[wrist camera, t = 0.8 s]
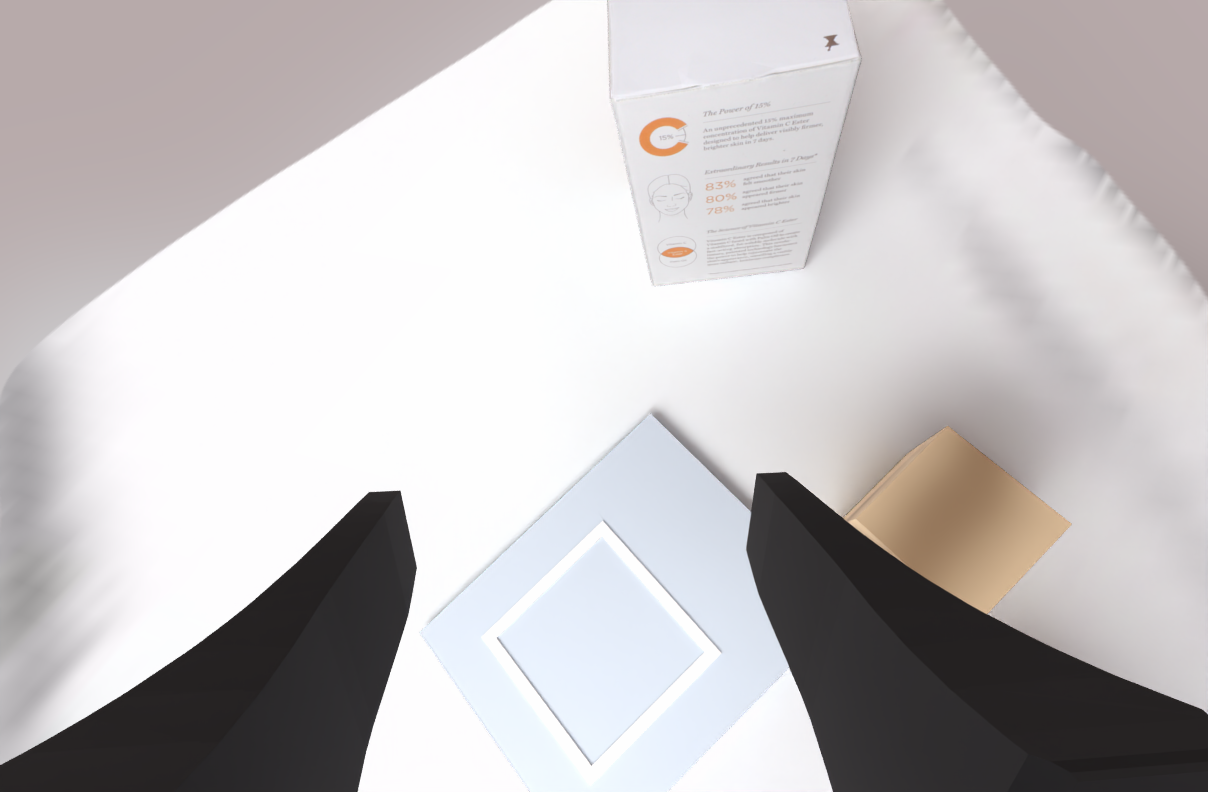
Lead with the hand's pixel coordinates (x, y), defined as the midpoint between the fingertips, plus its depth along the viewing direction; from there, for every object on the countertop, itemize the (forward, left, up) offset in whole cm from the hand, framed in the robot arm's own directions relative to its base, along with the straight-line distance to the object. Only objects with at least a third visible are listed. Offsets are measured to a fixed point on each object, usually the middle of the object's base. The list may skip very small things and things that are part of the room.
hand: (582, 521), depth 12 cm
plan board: (-1, +3, -16) cm, 16 cm away
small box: (+10, -15, -16) cm, 24 cm away
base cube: (-7, -9, -16) cm, 20 cm away
